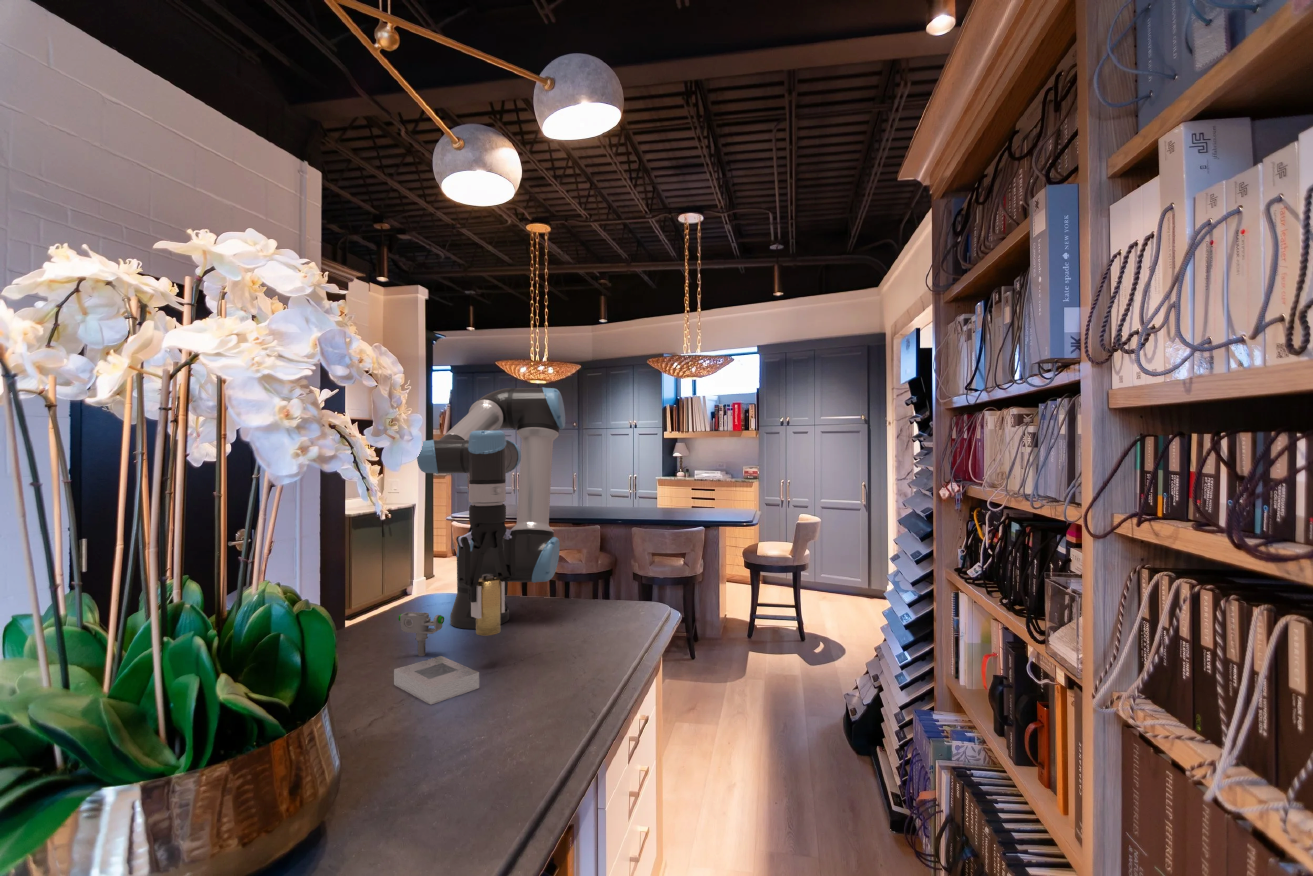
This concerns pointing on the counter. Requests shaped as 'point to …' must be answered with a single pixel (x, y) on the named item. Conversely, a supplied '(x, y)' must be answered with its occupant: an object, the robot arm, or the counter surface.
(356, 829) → the counter surface
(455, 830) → the counter surface
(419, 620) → the mechanical component
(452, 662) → the housing
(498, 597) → the brass capped cylinder
